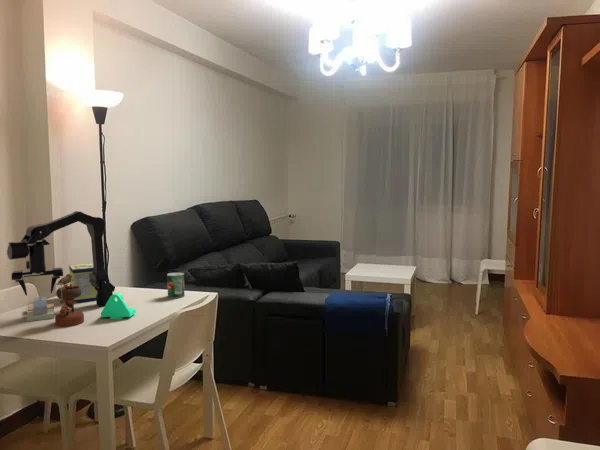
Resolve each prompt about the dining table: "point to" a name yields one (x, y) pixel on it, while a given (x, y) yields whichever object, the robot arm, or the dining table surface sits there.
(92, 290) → the protein box
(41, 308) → the housing
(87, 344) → the dining table surface
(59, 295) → the brown bird figurine
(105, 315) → the camera mount
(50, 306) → the walnut stand
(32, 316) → the green stand
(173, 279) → the canned tomato
